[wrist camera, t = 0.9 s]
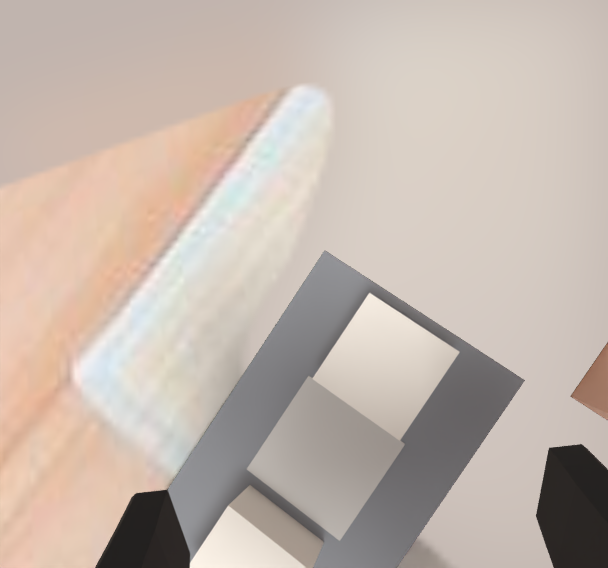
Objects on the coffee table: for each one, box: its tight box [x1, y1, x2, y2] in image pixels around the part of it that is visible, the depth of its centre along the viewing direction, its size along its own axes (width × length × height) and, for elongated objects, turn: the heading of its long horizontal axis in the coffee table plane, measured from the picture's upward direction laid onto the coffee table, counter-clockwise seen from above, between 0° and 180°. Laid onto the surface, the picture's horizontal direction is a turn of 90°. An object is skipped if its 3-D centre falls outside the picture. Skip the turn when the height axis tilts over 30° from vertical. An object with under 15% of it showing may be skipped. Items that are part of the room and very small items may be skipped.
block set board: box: [168, 251, 525, 568], centre depth 24 cm, size 10×25×4 cm, turn 146°
